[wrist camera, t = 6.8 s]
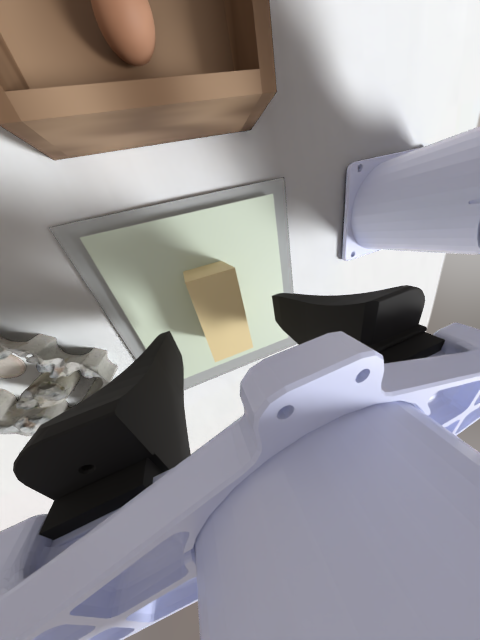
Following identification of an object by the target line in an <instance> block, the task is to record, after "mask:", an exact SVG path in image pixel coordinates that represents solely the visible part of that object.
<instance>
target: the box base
mask: <svg viewBox="0 0 480 640" xmlns="http://www.w3.org/2000/svg"><path fill="white" fill-rule="evenodd" d="M276 92H277V90H276V77H275V65H274V53H273V40H272V28H271V16H270V3H269V0H0V126H1V127H3V128H4V129H6V130H8V131H9V132H11V133H12V134H14V135H15V136H17V137H19V138H20V139H22V140H23V141H25V142H26V143H28V144H29V145H31V146H33V147H34V148H36V149H37V150H39V151H40V152H42V153H44V154H45V155H47V156H48V157H50V158H51V159H53V160H59V159H66V158H72V157H79V156H85V155H92V154H98V153H105V152H111V151H118V150H124V149H131V148H137V147H143V146H150V145H156V144H163V143H169V142H176V141H182V140H189V139H195V138H202V137H208V136H215V135H221V134H227V133H234V132H240V131H247V130H251V129H252V127H253V126H254V124H255V123H256V122H257V120H258V119H259V117H260V116H261V114H262V113H263V111H264V110H265V108H266V107H267V105H268V104H269V102H270V101H271V99H272V98H273V97H274V95H275V94H276Z"/></svg>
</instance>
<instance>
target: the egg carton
mask: <svg viewBox="0 0 480 640" xmlns="http://www.w3.org/2000/svg"><path fill="white" fill-rule="evenodd" d="M12 353H15V354H17V355H18V356H20V357H25V358H26V359H27V360H26V361H27V362H30V363H37V366H36V367H37V370H38V372H42V374H41V375H40V376H39V377H38V378H37V379H36V380H35V381H34V382H33V383H32V384H31V385H30V386H29V387H28V388H27V389H26V390H25V391H24V392H23V393H22V394H21V396H20V399H19V401H16V397H15V396H14V395H13V394H12V393H11V392H9V391H7V390H4V389H0V434H15V433H16V434H20V435H25V436H31V435H34V433H35V432H36V431H37V429H38V428H39V426H40V425H41V424H43V423H45V422H47V421H49V420H51V419H52V418H54V417H56V416H58V415H60V414H61V413H63V412H65V411H67V410H68V409H70V408H71V407H68V403H67V401H66V398H67V397H68V396H69V394H70V393H71V392H72V390H73V389H74V387H75V386H76V384H77V383H78V381H79V380H80V374H79V372H78V371H77V370H80V371H81V375H83V376H84V377H85V378H89V379H90V378H92V377H98V378H97V379H96V380H95V381H94V383H93V384H92V386H91V387H90V389H89V391H88V393H87V394H86V396H85V397H84V399H83V400H85V399H86V398H88V397H90V396H91V395H93V394H94V393H96V392H97V391H99V390H100V389H101V388H103V387H104V386H105V385H107V384H108V383H109V382H111V380H112V378H113V376H114V374H115V372H116V370H117V368H118V366H117V365H115V364H113V363H112V362H111V361H109V359H108V357H107V351H106V350H102V349H98V348H93V349H92V350H91V351H90V352H88V353H87V354H84V355H71V354H68V353H65V352H63V351H62V350H61V349H60V348H59V347H58V345H57V339H56V338H55V337H51V336H47V335H44V334H38V335H36V336H35V337H34V338H32V339H31V340H29V341H26V342H14V341H9V340H7V339H4V338H2V337H1V336H0V378H13V377H17V376H20V375H22V374H23V373H24V372H25V371H26V365H25V363H24V361H23V360H21V359H20V358H19V357H16V356H14V355H12ZM27 354H32V355H33V356H32V357H30V358H28V357H26V356H27ZM83 400H82V401H83Z"/></svg>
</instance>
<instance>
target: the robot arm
mask: <svg viewBox="0 0 480 640" xmlns="http://www.w3.org/2000/svg"><path fill="white" fill-rule="evenodd" d="M379 250H400V251H419V252H438V253H457V254H458V253H459V254H475V255H480V126H479V127H476V128H474V129H471V130H468V131H465V132H463V133H460V134H457V135H455V136H452V137H449V138H447V139H444V140H441V141H439V142H436V143H433V144H430V145H428V146H425V147H421V148H416V149H412V150H407V151H402V152H398V153H393V154H388V155H384V156H379V157H374V158H370V159H365V160H360V161H356V162H353V163H351V164H350V165H349V166H348V168H347V178H346V196H345V214H344V232H343V251H342V259H343V260H344V261H349V260H352V259H355V258H358V257H361V256H364V255H367V254H370V253H373V252H376V251H379ZM351 253H352V255H351ZM272 301H273V308H274V315H275V321H276V322H277V324H278V325H279V326H280V327H281V329H282V330H283V331H284V332H285V333H286V334H288V335H289V336H290V337H291V338H292V339H293V340H294V341H295V342H296V343H298V344H299V345H298V346H295V347H293V348H290V349H288V350H285V351H283V352H280V353H278V354H275V355H273V356H270V357H268V358H266V359H264V360H262V361H261V362H259V363H257V364H256V365H254V366H253V367H251V368H250V369H249V370H248V372H247V373H246V375H245V376H244V378H243V379H242V381H241V383H240V397H241V400H242V403H243V406H244V415H243V416H242V417H240V418H239V419H238V420H236V421H235V422H234V423H232V424H231V425H230V426H228V427H227V428H226V429H224V430H223V431H222V432H220V433H219V434H218V435H216V436H215V437H214V438H212V439H211V440H210V441H208V442H207V443H206V444H204V445H203V446H202V447H200V448H199V449H198V450H196V451H195V452H194V453H193V454H190V448H189V441H188V434H187V427H186V419H185V410H184V366H183V359H182V355H181V352H180V350H179V348H178V346H177V344H176V342H175V340H174V338H173V336H172V334H171V332H170V331H167V332H164V333H161V334H159V335H158V336H157V337H156V338H155V339H154V341H153V342H152V343H151V344H150V345H149V346H148V347H147V349H146V350H145V351H144V352H143V353H142V354H141V355H140V356H139V357H138V358H137V359H136V360H135V361H134V362H133V363H132V364H131V365H130V366H129V367H128V368H127V369H126V370H125V371H123V372H122V373H121V374H120V375H119V376H117V377H116V378H115V379H113V380H112V381H111V382H109V383H108V384H107V385H105V386H104V387H103V388H101V389H100V390H99V391H97V392H96V393H94V394H93V395H91V396H90V397H88V398H86V399H85V400H83V401H82V402H80V403H78V404H77V405H75V406H74V407H72V408H70V409H68V410H67V411H65V412H63V413H61V414H60V415H58V416H56V417H54V418H52V419H51V420H49V421H47V422H45V423H43V424H41V425H40V426H39V428H38V429H37V431H36V432H35V433H34V435H33V436H32V437H31V439H30V440H29V442H28V443H27V444H26V446H25V447H24V448H23V450H22V451H21V452H20V454H19V455H18V457H17V458H16V460H15V462H14V467H13V471H14V473H15V475H16V477H17V479H18V480H19V481H20V482H22V483H23V484H24V485H26V486H28V487H30V488H32V489H33V490H35V491H37V492H39V493H41V494H43V495H45V496H47V497H49V498H51V499H53V500H54V502H53V505H52V507H51V509H50V511H49V513H48V514H42V515H37V516H33V517H31V518H29V519H26V520H24V521H22V522H20V523H18V524H16V525H13V526H11V527H9V528H7V529H5V530H2V531H0V640H123V639H125V638H127V637H129V636H131V635H133V634H134V633H137V632H139V631H140V630H142V629H144V628H146V627H148V626H150V625H152V624H154V623H156V622H158V621H160V620H162V619H164V618H165V617H167V616H169V615H171V614H173V613H175V612H177V611H179V610H181V609H182V608H185V607H187V606H189V605H190V604H193V603H195V602H196V601H198V609H199V628H200V640H480V452H478V451H477V450H475V449H474V448H472V447H471V446H470V445H468V444H467V443H465V442H464V441H462V440H461V439H460V438H459V437H457V436H456V435H458V434H459V433H460V432H462V431H463V430H464V429H466V428H467V427H468V426H470V425H471V424H472V423H474V422H475V421H476V420H478V419H479V418H480V329H477V328H473V327H470V326H467V325H463V324H460V323H452V324H450V325H448V326H445V327H443V328H441V329H439V330H437V331H436V332H435V333H434V334H433V335H431V334H429V333H426V332H425V331H426V330H427V328H426V327H425V326H422V325H419V321H420V317H421V314H422V311H423V308H424V303H425V296H424V294H423V291H422V290H421V289H420V288H417V287H413V286H408V285H405V286H399V287H394V288H389V289H385V290H380V291H374V292H368V293H361V294H352V295H339V296H317V295H303V294H292V293H278V294H276V295H273V296H272Z"/></svg>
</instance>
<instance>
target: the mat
mask: <svg viewBox="0 0 480 640" xmlns="http://www.w3.org/2000/svg"><path fill="white" fill-rule="evenodd" d="M269 194H273V197H274V206H275V216H276V225H277V235H278V244H279V254H280V263H281V273H282V282H283V291H284V293H292V294H294V293H293V281H292V268H291V256H290V243H289V230H288V218H287V205H286V193H285V180H284V177H283V178H278V179H273V180H269V181H264V182H259V183H255V184H250V185H245V186H241V187H236V188H231V189H227V190H222V191H217V192H213V193H208V194H203V195H199V196H194V197H189V198H185V199H180V200H175V201H171V202H166V203H161V204H157V205H152V206H147V207H143V208H138V209H133V210H129V211H124V212H119V213H115V214H110V215H105V216H101V217H96V218H91V219H87V220H82V221H77V222H73V223H68V224H63V225H59V226H54V227H49V229H50V230H51V232H52V233H53V235H54V236H55V238H56V239H57V241H58V242H59V244H60V245H61V247H62V248H63V250H64V251H65V253H66V254H67V256H68V257H69V259H70V261H71V262H72V264H73V265H74V267H75V268H76V270H77V271H78V273H79V274H80V276H81V277H82V279H83V280H84V282H85V283H86V285H87V286H88V288H89V289H90V291H91V292H92V294H93V295H94V297H95V298H96V300H97V301H98V303H99V304H100V306H101V307H102V309H103V311H104V312H105V314H106V315H107V317H108V318H109V320H110V321H111V323H112V324H113V326H114V327H115V329H116V330H117V332H118V333H119V335H120V336H121V338H122V339H123V341H124V342H125V344H126V345H127V347H128V348H129V350H130V351H131V353H132V354H133V356H134V357H135V359H137V358H138V357H139V356H140V355H141V354H142V353H143V352H144V351H145V350H146V348H145V346H144V345H143V343H142V341H141V340H140V338H139V336H138V335H137V333H136V331H135V330H134V328H133V326H132V325H131V323H130V321H129V320H128V318H127V316H126V315H125V313H124V311H123V310H122V308H121V306H120V305H119V303H118V301H117V300H116V298H115V296H114V295H113V293H112V291H111V290H110V288H109V286H108V285H107V283H106V281H105V280H104V278H103V276H102V275H101V273H100V271H99V270H98V268H97V266H96V264H95V263H94V261H93V259H92V258H91V256H90V254H89V253H88V251H87V249H86V248H85V246H84V244H83V243H82V241H81V239H80V237H85V236H89V235H93V234H98V233H102V232H107V231H111V230H115V229H120V228H124V227H129V226H133V225H137V224H142V223H146V222H151V221H155V220H159V219H164V218H168V217H173V216H177V215H181V214H186V213H190V212H195V211H199V210H203V209H208V208H212V207H217V206H221V205H225V204H230V203H234V202H239V201H243V200H247V199H252V198H256V197H261V196H265V195H269ZM296 344H298V343H296V342H295V341H294V340H293V339H292V338H291V337H290V336H289V335H288V338H286V339H283V340H281V341H278V342H276V343H273V344H271V345H268V346H266V347H263V348H261V349H258V350H256V351H253V352H251V353H248V354H246V355H243V356H241V357H238V358H236V359H233V360H230V361H228V362H225V363H223V364H220V365H218V366H215V367H213V368H210V369H208V370H205V371H203V372H200V373H198V374H195V375H193V376H190V377H188V378H185V379H184V390H186V389H189V388H191V387H193V386H196V385H198V384H201V383H203V382H206V381H208V380H210V379H213V378H215V377H218V376H220V375H223V374H225V373H228V372H230V371H232V370H235V369H237V368H240V367H242V366H245V365H247V364H249V363H252V362H254V361H257V360H259V359H262V358H264V357H267V356H269V355H271V354H274V353H276V352H279V351H281V350H284V349H286V348H288V347H291V346H293V345H296Z"/></svg>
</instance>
